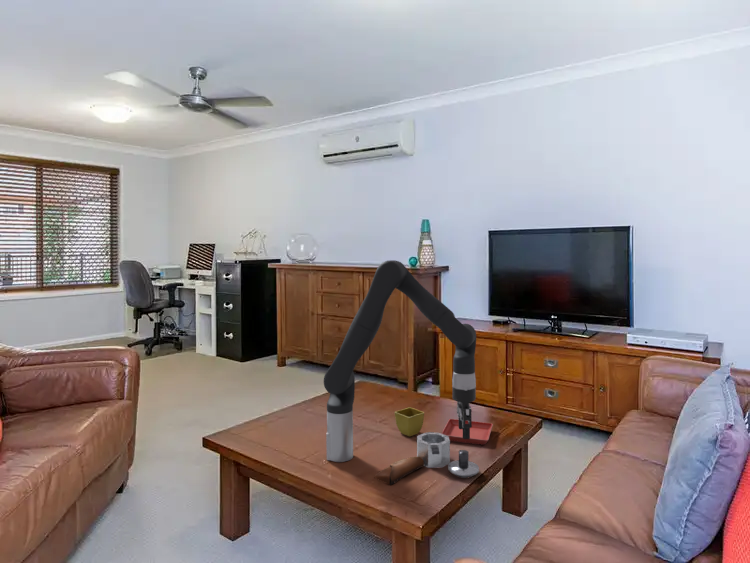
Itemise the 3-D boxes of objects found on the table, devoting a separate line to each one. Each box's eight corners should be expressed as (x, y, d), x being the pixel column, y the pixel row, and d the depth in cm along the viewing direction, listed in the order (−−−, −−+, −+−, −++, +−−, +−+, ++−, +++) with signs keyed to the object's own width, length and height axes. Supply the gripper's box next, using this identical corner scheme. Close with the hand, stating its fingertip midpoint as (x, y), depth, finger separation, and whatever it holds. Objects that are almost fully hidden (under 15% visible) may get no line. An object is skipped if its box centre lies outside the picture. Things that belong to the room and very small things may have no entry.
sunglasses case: (404, 459, 177) (412, 446, 174) (418, 474, 173) (426, 461, 171) (371, 477, 163) (379, 463, 161) (385, 494, 160) (394, 480, 157)
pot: (419, 471, 168) (419, 448, 167) (415, 450, 185) (415, 429, 184) (452, 471, 168) (452, 448, 167) (445, 450, 185) (445, 429, 184)
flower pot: (408, 439, 195) (408, 417, 194) (394, 433, 202) (394, 411, 201) (424, 434, 201) (425, 412, 200) (409, 428, 207) (409, 407, 207)
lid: (450, 481, 161) (450, 458, 161) (446, 467, 171) (446, 445, 171) (481, 481, 161) (481, 458, 160) (475, 467, 171) (475, 445, 170)
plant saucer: (488, 448, 187) (488, 439, 187) (440, 442, 193) (440, 434, 193) (493, 431, 204) (493, 423, 204) (449, 426, 210) (449, 418, 210)
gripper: (449, 379, 171) (449, 426, 172) (455, 391, 157) (455, 442, 158) (471, 379, 171) (471, 425, 172) (479, 391, 157) (479, 442, 158)
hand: (464, 433), depth 165 cm, fingers open, 8 cm apart
